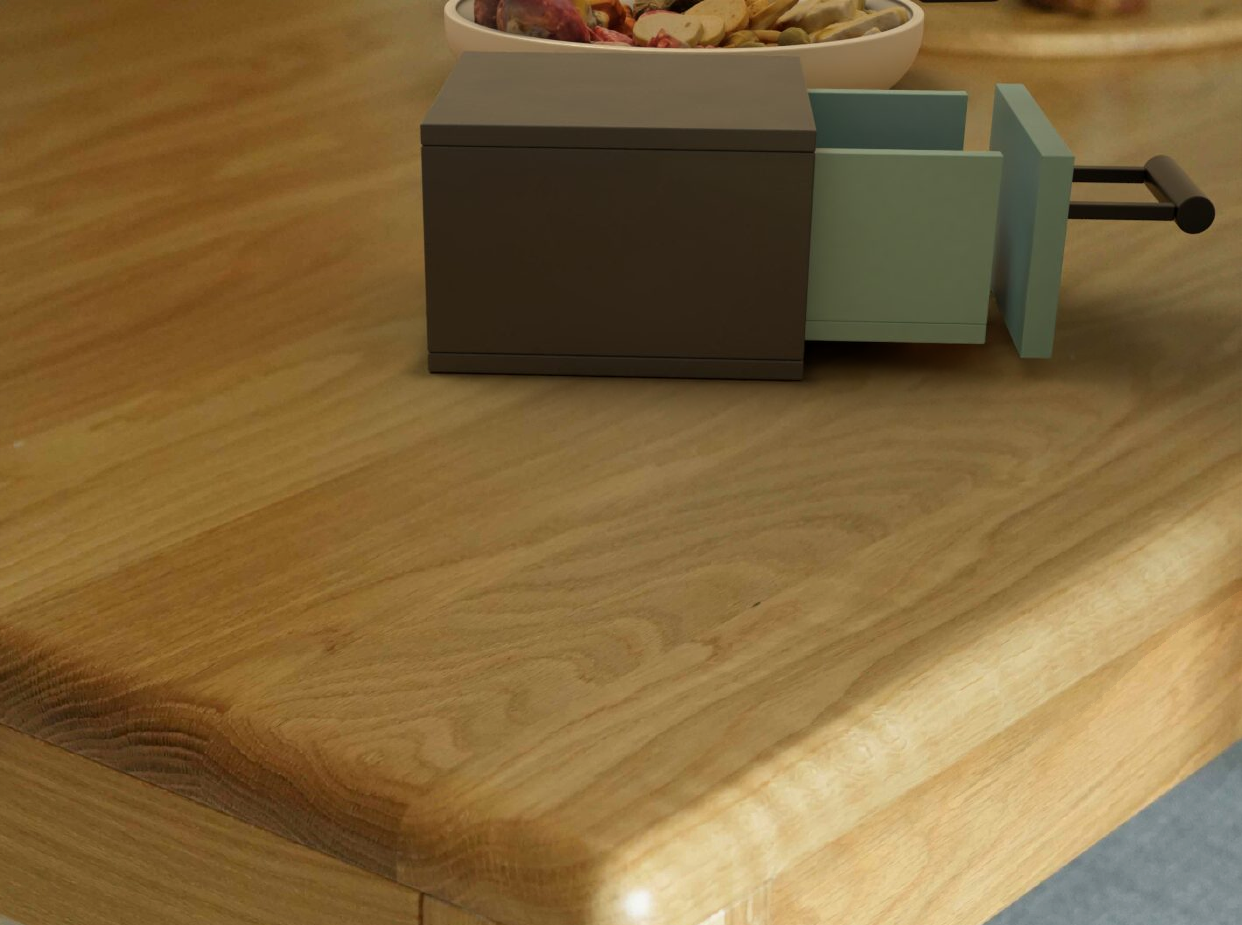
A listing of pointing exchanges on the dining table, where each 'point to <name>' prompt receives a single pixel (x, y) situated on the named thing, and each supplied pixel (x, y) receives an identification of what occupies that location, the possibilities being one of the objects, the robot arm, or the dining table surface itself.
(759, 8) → the bowl
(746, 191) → the cabinet
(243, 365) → the dining table surface
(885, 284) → the drawer
